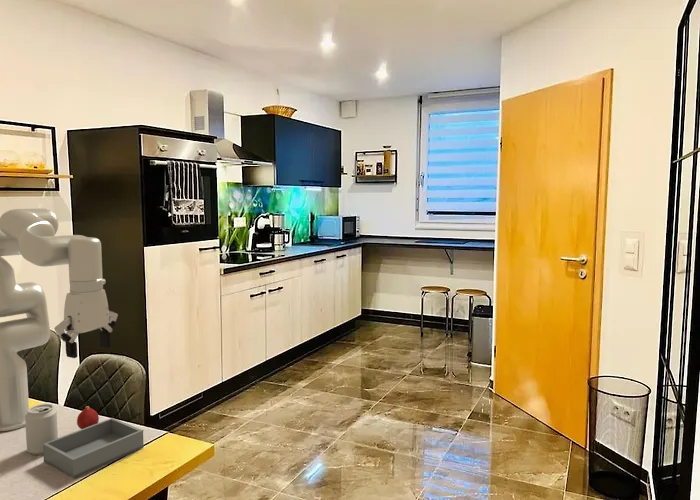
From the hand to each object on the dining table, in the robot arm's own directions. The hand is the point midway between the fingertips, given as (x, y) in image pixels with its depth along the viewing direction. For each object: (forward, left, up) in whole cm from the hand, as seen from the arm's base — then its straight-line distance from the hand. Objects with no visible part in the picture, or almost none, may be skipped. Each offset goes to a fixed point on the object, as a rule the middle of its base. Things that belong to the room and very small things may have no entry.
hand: (89, 351), depth 133 cm
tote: (-4, +3, -30) cm, 30 cm away
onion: (-18, +9, -30) cm, 36 cm away
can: (-18, -4, -30) cm, 35 cm away
